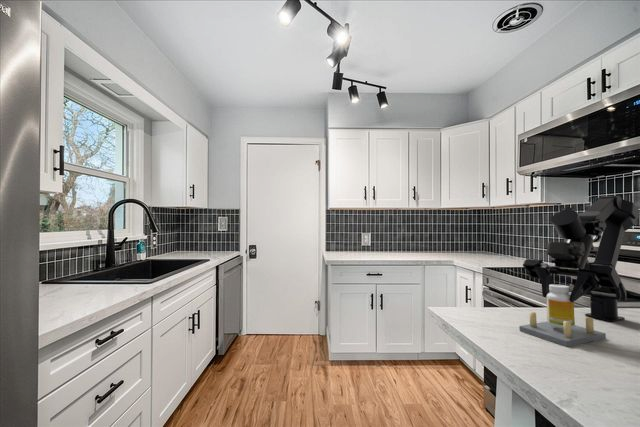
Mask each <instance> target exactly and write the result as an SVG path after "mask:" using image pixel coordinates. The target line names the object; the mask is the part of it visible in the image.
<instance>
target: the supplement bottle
mask: <svg viewBox="0 0 640 427" xmlns="http://www.w3.org/2000/svg"><path fill="white" fill-rule="evenodd" d="M549 289H550V292H549V293H548V294H547V295H546V297H545V298H546V320H547V321H546V322H548V323H549V324H551V325H553V326H557V327H562V328H564V325H563V321H569V322H571V328H573V327H574V326H575V325H576V322H575V301H574V302H571V301H570V295H571V294H569V293H570V286H568V285H565V284H557V283H556V284H555V283H554V284H550V285H549Z"/></svg>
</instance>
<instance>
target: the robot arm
mask: <svg viewBox="0 0 640 427" xmlns="http://www.w3.org/2000/svg"><path fill="white" fill-rule="evenodd" d="M639 217H640V211H639V207H638V206H637V205H636V204H635V203H634V202H632V201H629V200H625V199H623V198H622V197H620V196H619V195H606V196H605V195H604V196H599V197H597V198H596V199H595V202H594V203H592V204H591V205H590V206H589V207H588V208H587V209H586V210H585V211H583V212H580V213H579V212H577V211H575V209H574V207H564V208H563V209H562V210H561V211H558V212H556V213H555V214H553V215H552V216H551V217H550V221H551V223H552V225H553V227H554V229H555V230H556V233H557V235H558V236H559V237H560V238H561V239H563V240H564V242H562V241H559V242H558V241H548V243H547V249H546V255H547V256H549V257H550V258H551V259H550V262H551V263H552V264H554V265H549V264H548V263H544V261H543V259H537V258H535V259H534V258H526V259H525V260H524V261H523V264H522V267H523V268H524V269H525V271H526V273H527V275H528V276H529V277H530V278H532V279H534V280H535V279H536V280H540V282H541V283H540V284H541V292H542V297H543V298H546V295H547V294H548V293H550V292H551V291H550V289H549V285H550V284H555V281H554V279H553V278H552V275H553V274H554V275H557V276H563V277H570V278H571V277H572V278H576V280H575V283H574V285H573V288H572V290H571V292H570V294H569V295H570V301H571V302H574V303H575V301H577V300H578V299H580V298H581V297H583V296H585V295H586V296H589V298H590V300H589V301H590V302H589V304H590V312H588V313H584V316H585V317H590V318H593V319H598V320H601V321H602V320H603V321H607V322H612V323H613V322H617V321H624V320H625V319H626V318H625V317H624V316H619V312H618V310H619V309H618V308H619V305H618V301H623V300H624V301H625V300H626V301H627V294H628V293H627V290H626V288H625V286H624V284H623V282H622V280H621V276H620V275H619V274H618V272H617V270H616V267H617V262H618V260H619V256H620V251H621V247H622V244H623V242H624V241H623V239H624V236H625V232H626V231H628V230H629V229H631V228H633V227H634V226H635V224H636V221H637V219H639ZM599 236H601V238H600V241H599V244H598V247H597V251H596V254H595V259H594V261H592V262H590V261H589V260H588V258H589V255H590V253H591V251H594V249H595V247H594V246H595V245H594V238H593V237H599Z"/></svg>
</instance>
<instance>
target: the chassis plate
mask: <svg viewBox="0 0 640 427" xmlns="http://www.w3.org/2000/svg"><path fill="white" fill-rule="evenodd" d="M563 325H564V328H562V327H557V326H553V325H551V324H549V323H548V322H547V321H541V322H537V312H534V311H529V324H524V325H518V326H519V327H518V328H519V331H520V332H523V333H525V334H528V335H531V336H534V337H537V338H539V339H543V340H546V341H547V342H551V343H555V344H557V345H560V346H563V347H566V348H567V347H571V346H572V347H573V346H576V345H581V343H582V344H585V343H591V342H596V341H600V340H604V339H606V338H607V337H606V336H607V335H606V333H605V332H602V331H598V330H595V327H594V317H589V316H585V327H583V326H580V325H577V324H575V326H574V327H573V328H571V322H569V321H563Z"/></svg>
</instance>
